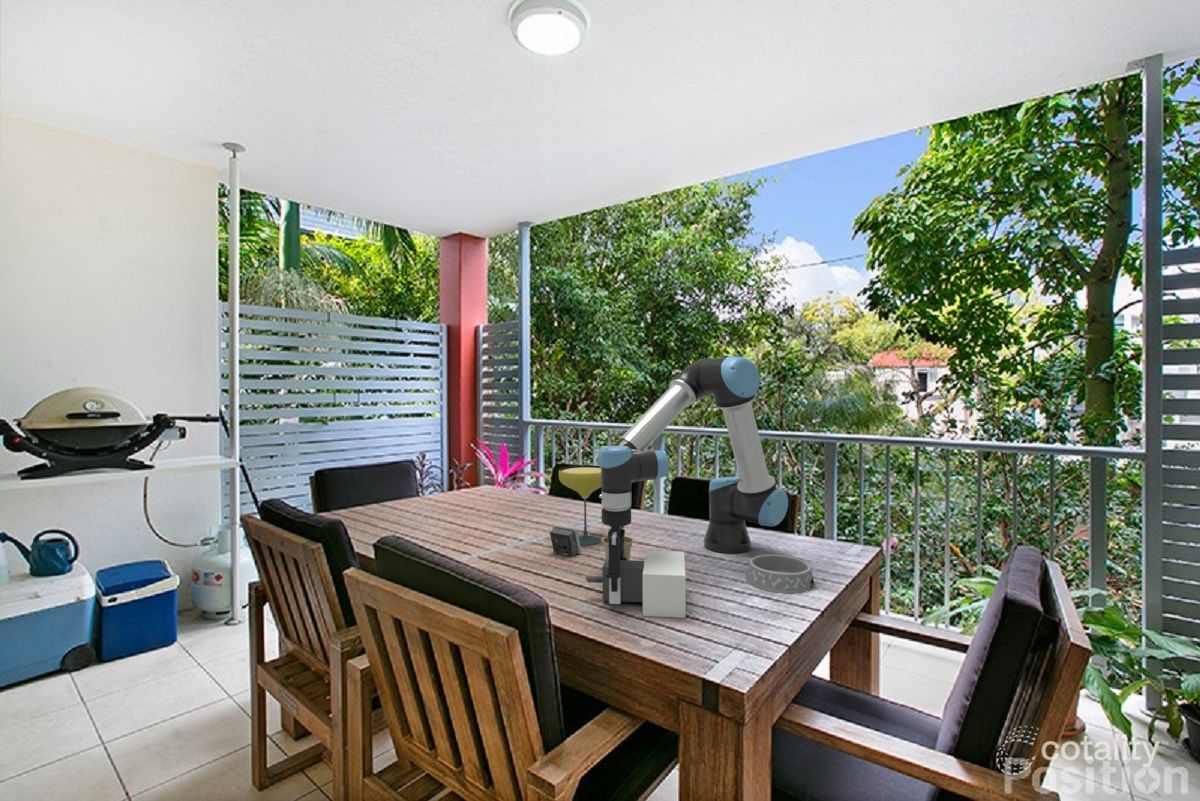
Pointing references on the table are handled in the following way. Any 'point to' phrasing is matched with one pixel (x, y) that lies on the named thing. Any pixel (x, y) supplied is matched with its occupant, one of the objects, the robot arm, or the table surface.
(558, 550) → the electrical switch
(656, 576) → the white rectangular block
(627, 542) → the flower pot
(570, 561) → the table surface
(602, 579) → the plug
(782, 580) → the dog bowl
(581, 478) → the cocktail glass
